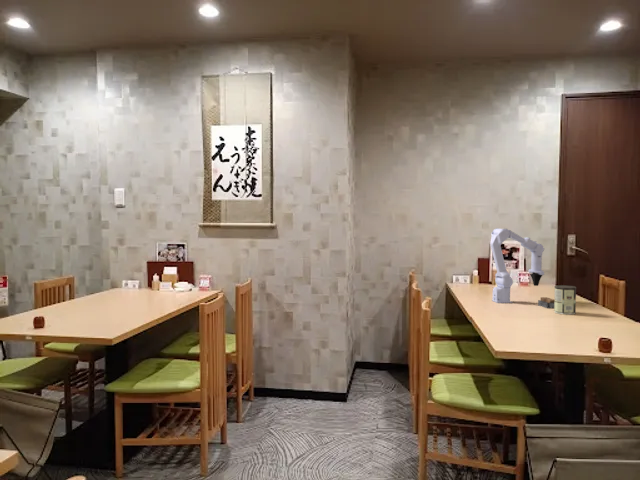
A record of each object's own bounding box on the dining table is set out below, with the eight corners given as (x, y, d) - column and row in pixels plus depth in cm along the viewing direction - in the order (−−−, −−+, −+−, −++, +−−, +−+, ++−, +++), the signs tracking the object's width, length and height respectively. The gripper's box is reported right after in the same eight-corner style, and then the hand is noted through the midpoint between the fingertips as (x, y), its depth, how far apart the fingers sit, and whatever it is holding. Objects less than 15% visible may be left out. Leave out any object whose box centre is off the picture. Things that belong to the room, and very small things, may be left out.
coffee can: (563, 310, 259) (564, 284, 258) (580, 314, 250) (581, 287, 249) (549, 311, 255) (550, 285, 255) (565, 315, 246) (566, 288, 245)
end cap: (537, 305, 275) (537, 300, 275) (552, 305, 275) (553, 300, 275) (546, 308, 265) (546, 302, 265) (562, 308, 266) (562, 302, 266)
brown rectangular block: (556, 308, 267) (556, 300, 267) (550, 308, 267) (550, 300, 267) (546, 305, 277) (546, 297, 277) (540, 305, 277) (540, 297, 277)
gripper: (549, 264, 282) (548, 287, 282) (536, 262, 296) (536, 283, 297) (537, 264, 281) (537, 287, 282) (525, 262, 296) (525, 284, 296)
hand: (535, 285), depth 289 cm, fingers closed
